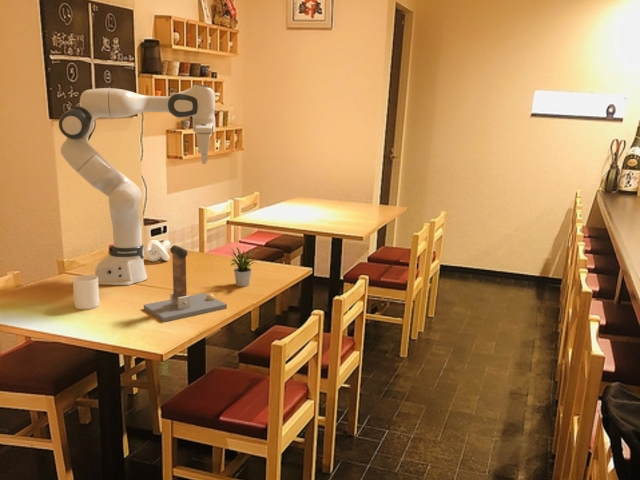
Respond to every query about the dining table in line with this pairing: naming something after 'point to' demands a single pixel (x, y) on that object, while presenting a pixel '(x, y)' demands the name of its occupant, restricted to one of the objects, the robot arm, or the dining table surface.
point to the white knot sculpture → (157, 250)
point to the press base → (184, 306)
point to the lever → (179, 271)
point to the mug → (86, 292)
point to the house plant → (242, 268)
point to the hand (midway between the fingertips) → (204, 162)
